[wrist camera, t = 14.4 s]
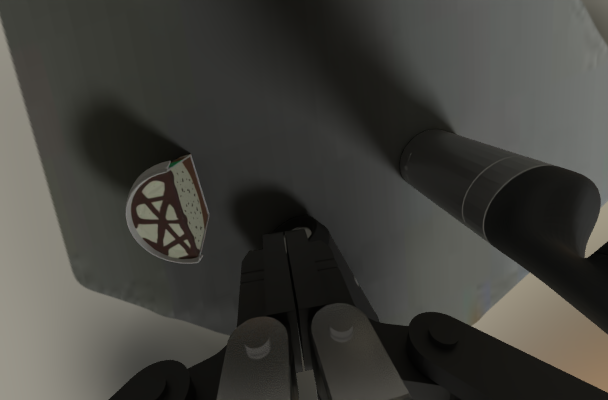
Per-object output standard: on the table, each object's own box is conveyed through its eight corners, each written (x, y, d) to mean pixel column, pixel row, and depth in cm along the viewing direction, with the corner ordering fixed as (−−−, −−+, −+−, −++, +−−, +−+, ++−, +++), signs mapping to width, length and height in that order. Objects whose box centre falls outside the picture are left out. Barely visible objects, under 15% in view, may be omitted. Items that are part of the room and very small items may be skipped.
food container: (138, 149, 35) (97, 176, 26) (187, 142, 35) (164, 166, 26) (170, 230, 40) (145, 276, 31) (212, 223, 41) (199, 266, 32)
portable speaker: (371, 302, 54) (394, 348, 45) (326, 324, 54) (340, 374, 45) (314, 202, 42) (329, 237, 33) (258, 232, 43) (259, 274, 34)
